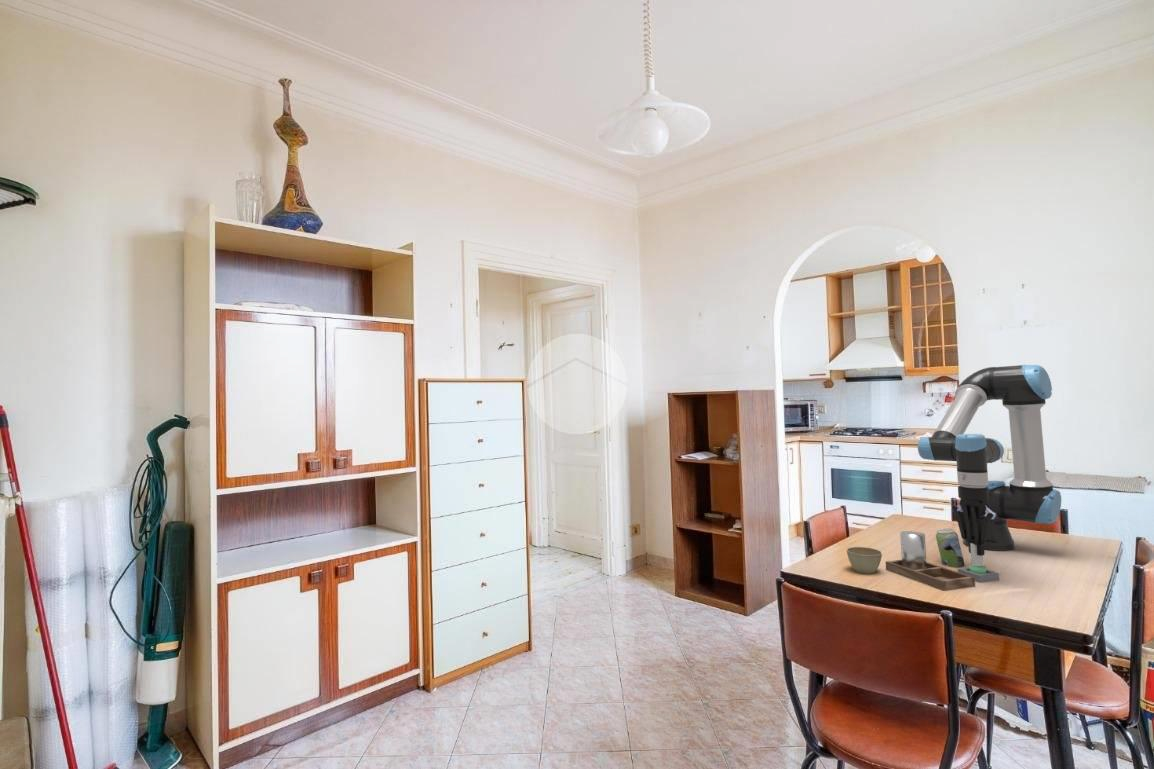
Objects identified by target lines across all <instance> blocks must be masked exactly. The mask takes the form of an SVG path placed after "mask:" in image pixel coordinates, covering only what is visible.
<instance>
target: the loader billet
mask: <svg viewBox="0 0 1154 769" xmlns="http://www.w3.org/2000/svg"><path fill="white" fill-rule="evenodd" d="M925 534H926V533H923V532H921V531H913V530H903V531H900V534H899V536H900V556H901V560H902V566H903V567H906V568H909V569H912V570H919V569H927V563H926V562H927V546H926V535H925Z"/></svg>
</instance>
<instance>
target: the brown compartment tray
mask: <svg viewBox="0 0 1154 769" xmlns="http://www.w3.org/2000/svg"><path fill="white" fill-rule="evenodd" d="M926 563H927V569H919V570H912V569H909V568H906V567H903V566H902V559H894V560H886V561H885V570H886V571H889V572H890V573H891V572H892V573H894V574H897V575H900V576H903V577H905V578H908V579H910V580H913V581H916V582H917V583H918V582H919V583H922V584H924V585H927V586H929V587H931V588H935V589H938V590H940V591H943V592H946V591H950V590H951V591H952V590H960V589H966V588H973V587H976V581H975V577H972V576H969V575H966V574H963V573H959V572H958V571H956V570H954V569H953V570H952V569H949V568H946V567H944V566H940V565H938V564H935V563H931V562H928V561H926Z"/></svg>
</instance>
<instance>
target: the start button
mask: <svg viewBox="0 0 1154 769" xmlns="http://www.w3.org/2000/svg"><path fill="white" fill-rule="evenodd" d="M969 567H970V571H971V572H974V573H977V574H983V573H986V569H987V566H985V565H983V566H978V567H975V566H972V565H971V564H969Z"/></svg>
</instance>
